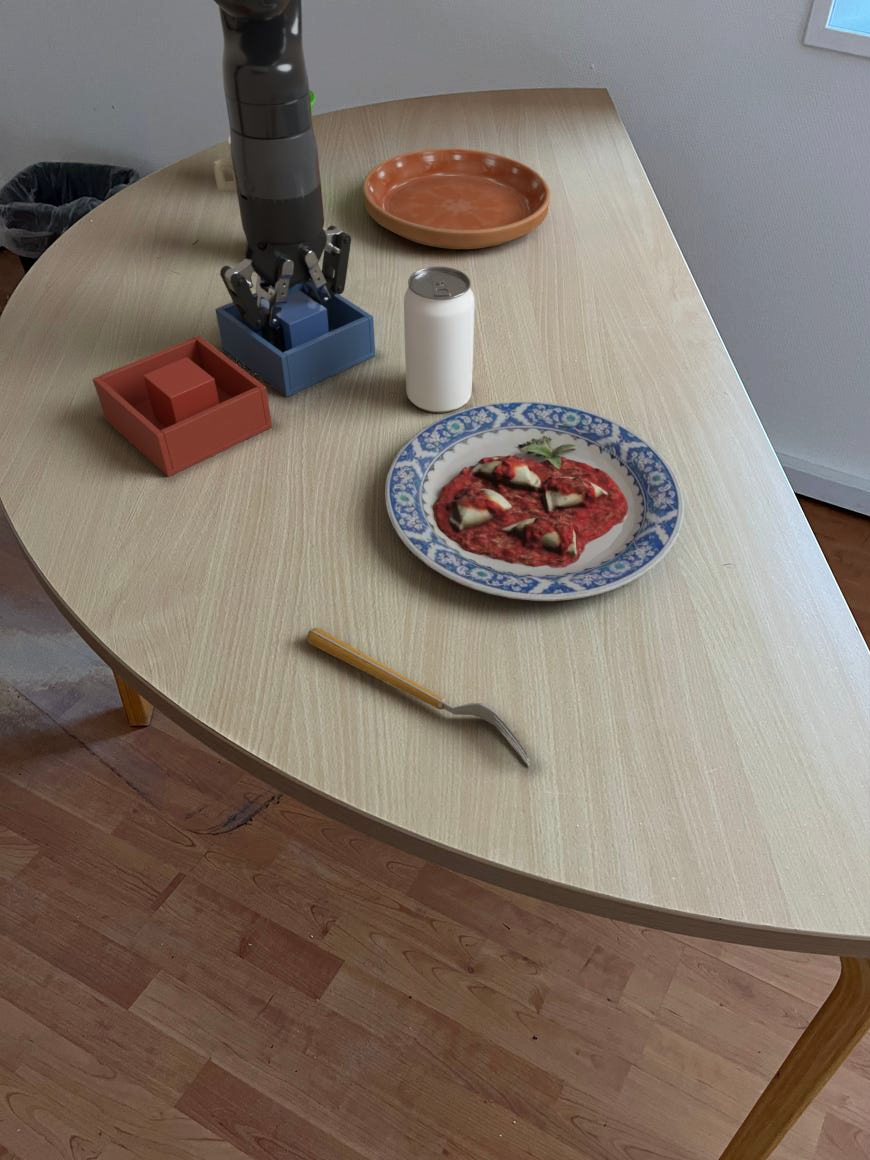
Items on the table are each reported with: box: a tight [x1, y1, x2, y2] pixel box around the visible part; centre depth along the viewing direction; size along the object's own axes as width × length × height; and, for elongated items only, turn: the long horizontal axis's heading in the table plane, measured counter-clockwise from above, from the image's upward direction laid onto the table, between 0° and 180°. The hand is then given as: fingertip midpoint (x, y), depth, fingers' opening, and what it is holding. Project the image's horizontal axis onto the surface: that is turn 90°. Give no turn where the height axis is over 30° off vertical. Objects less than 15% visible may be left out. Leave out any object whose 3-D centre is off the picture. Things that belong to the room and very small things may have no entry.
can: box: [403, 266, 475, 414], centre depth 90 cm, size 6×6×12 cm
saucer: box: [362, 147, 551, 250], centre depth 118 cm, size 23×23×4 cm
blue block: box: [280, 291, 329, 351], centre depth 97 cm, size 5×5×5 cm
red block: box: [143, 357, 219, 427], centre depth 88 cm, size 5×5×5 cm
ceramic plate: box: [384, 400, 685, 602], centre depth 83 cm, size 26×26×3 cm
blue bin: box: [214, 284, 376, 398], centre depth 97 cm, size 11×11×4 cm
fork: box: [306, 627, 531, 767], centre depth 70 cm, size 2×2×20 cm
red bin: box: [92, 335, 273, 478], centre depth 89 cm, size 11×11×4 cm
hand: (298, 344), depth 98 cm, fingers closed on blue block, 4 cm apart
